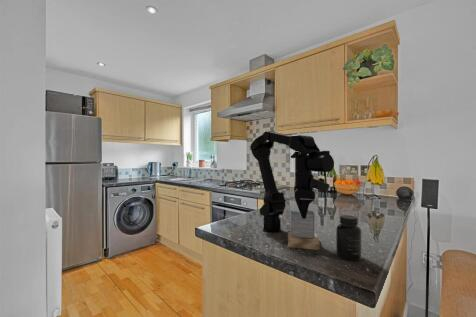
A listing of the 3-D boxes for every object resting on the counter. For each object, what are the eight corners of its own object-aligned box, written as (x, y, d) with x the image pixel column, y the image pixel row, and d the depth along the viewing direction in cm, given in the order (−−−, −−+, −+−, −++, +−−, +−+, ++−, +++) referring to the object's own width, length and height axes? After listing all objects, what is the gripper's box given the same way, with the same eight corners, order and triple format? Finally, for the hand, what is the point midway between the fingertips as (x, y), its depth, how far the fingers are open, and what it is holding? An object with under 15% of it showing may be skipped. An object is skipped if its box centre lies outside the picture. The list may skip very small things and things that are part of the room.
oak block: (287, 248, 74) (288, 239, 74) (288, 238, 84) (288, 230, 84) (319, 252, 72) (319, 242, 72) (316, 241, 82) (316, 232, 82)
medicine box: (313, 234, 79) (313, 210, 80) (314, 239, 75) (314, 213, 75) (290, 233, 81) (290, 209, 81) (290, 237, 77) (290, 212, 77)
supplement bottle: (331, 252, 70) (332, 214, 70) (352, 251, 71) (352, 213, 71) (344, 262, 63) (344, 220, 63) (366, 261, 64) (366, 219, 64)
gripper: (332, 172, 67) (332, 224, 67) (324, 170, 85) (324, 211, 85) (294, 172, 70) (294, 221, 70) (294, 170, 88) (294, 209, 88)
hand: (303, 215), depth 78 cm, fingers open, 9 cm apart
